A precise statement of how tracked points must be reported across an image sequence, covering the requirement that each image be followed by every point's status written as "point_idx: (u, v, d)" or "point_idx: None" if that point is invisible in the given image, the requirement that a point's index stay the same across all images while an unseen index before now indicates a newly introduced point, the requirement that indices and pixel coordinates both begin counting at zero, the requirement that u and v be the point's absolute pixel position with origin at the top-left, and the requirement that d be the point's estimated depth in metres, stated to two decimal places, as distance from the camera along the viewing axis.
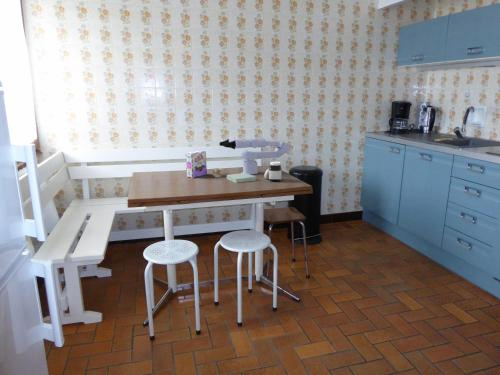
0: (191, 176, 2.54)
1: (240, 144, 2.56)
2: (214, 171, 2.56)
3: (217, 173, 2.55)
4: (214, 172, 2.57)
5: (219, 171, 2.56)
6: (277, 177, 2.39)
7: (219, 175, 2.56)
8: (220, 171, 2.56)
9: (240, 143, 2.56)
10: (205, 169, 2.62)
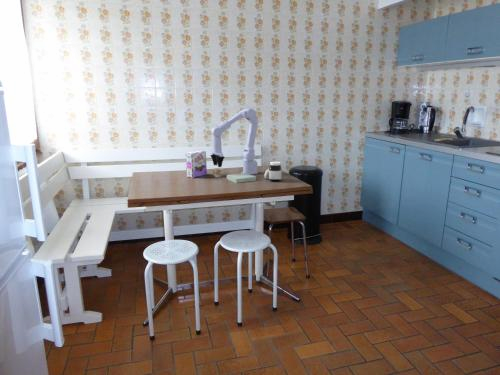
0: (191, 176, 2.54)
1: (218, 148, 2.52)
2: (214, 171, 2.56)
3: (217, 173, 2.55)
4: (214, 172, 2.57)
5: (219, 171, 2.56)
6: (277, 177, 2.39)
7: (219, 175, 2.56)
8: (220, 171, 2.56)
9: (217, 148, 2.51)
10: (205, 169, 2.62)
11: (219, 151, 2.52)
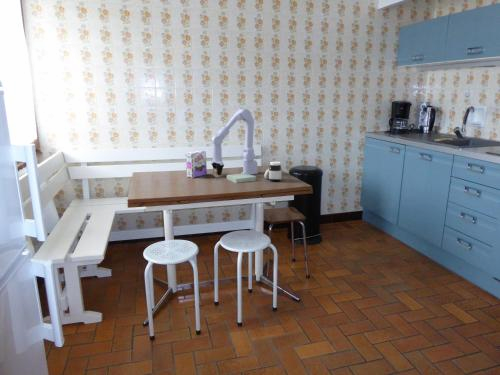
0: (191, 176, 2.54)
1: (219, 156, 2.53)
2: (214, 171, 2.56)
3: (217, 173, 2.55)
4: (214, 172, 2.57)
5: None
6: (277, 177, 2.39)
7: (219, 175, 2.56)
8: None
9: (218, 156, 2.53)
10: (205, 169, 2.62)
11: (219, 159, 2.54)
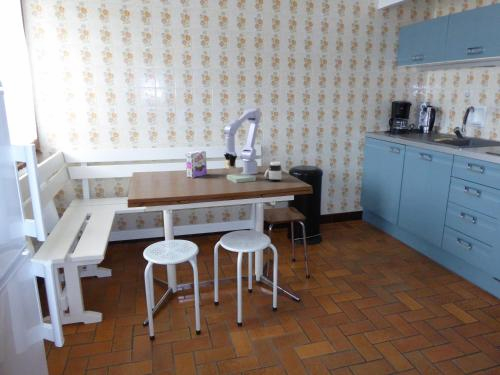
0: (191, 176, 2.54)
1: (232, 147, 2.45)
2: (227, 162, 2.49)
3: None
4: (227, 163, 2.49)
5: None
6: (277, 177, 2.39)
7: (232, 166, 2.48)
8: None
9: (231, 147, 2.45)
10: (205, 169, 2.62)
11: (232, 150, 2.46)
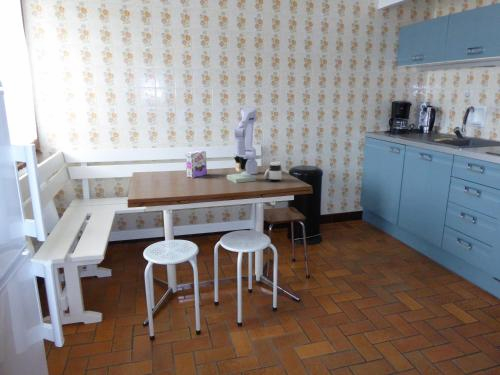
0: (191, 176, 2.54)
1: (242, 150, 2.41)
2: (237, 165, 2.44)
3: (240, 167, 2.43)
4: (237, 166, 2.44)
5: None
6: (277, 177, 2.39)
7: (242, 169, 2.44)
8: None
9: (241, 150, 2.41)
10: (205, 169, 2.62)
11: (243, 153, 2.42)
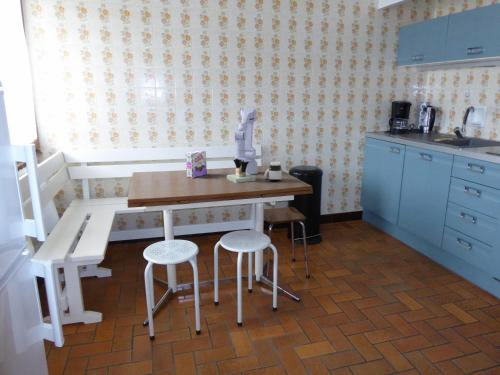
0: (191, 176, 2.54)
1: (242, 152, 2.41)
2: (237, 170, 2.45)
3: (240, 172, 2.44)
4: (237, 171, 2.45)
5: None
6: (277, 177, 2.39)
7: (242, 174, 2.45)
8: None
9: (241, 152, 2.41)
10: (205, 169, 2.62)
11: (243, 156, 2.42)
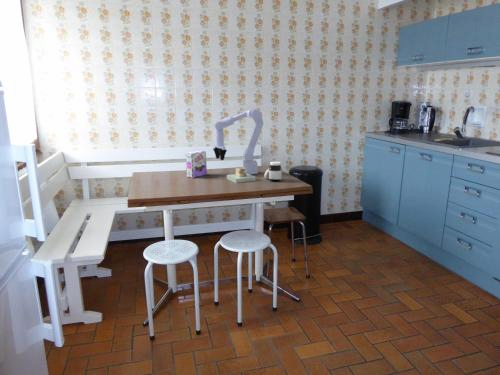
0: (191, 176, 2.54)
1: (221, 141, 2.57)
2: (237, 170, 2.45)
3: (241, 172, 2.44)
4: (237, 171, 2.45)
5: (243, 170, 2.44)
6: (277, 177, 2.39)
7: (243, 174, 2.45)
8: (244, 170, 2.45)
9: (220, 141, 2.57)
10: (205, 169, 2.62)
11: (221, 144, 2.58)
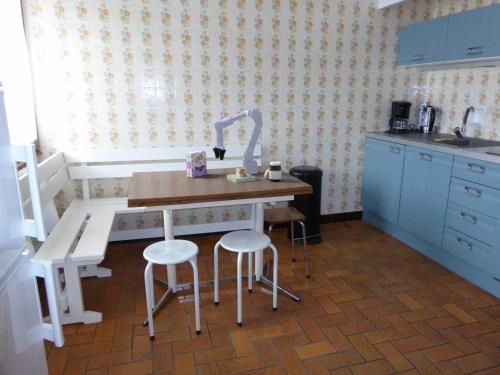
0: (191, 176, 2.54)
1: (220, 141, 2.58)
2: (237, 170, 2.45)
3: (241, 172, 2.44)
4: (237, 171, 2.45)
5: (243, 170, 2.44)
6: (277, 177, 2.39)
7: (243, 175, 2.45)
8: (244, 170, 2.45)
9: (219, 141, 2.58)
10: (205, 169, 2.62)
11: (221, 144, 2.59)
